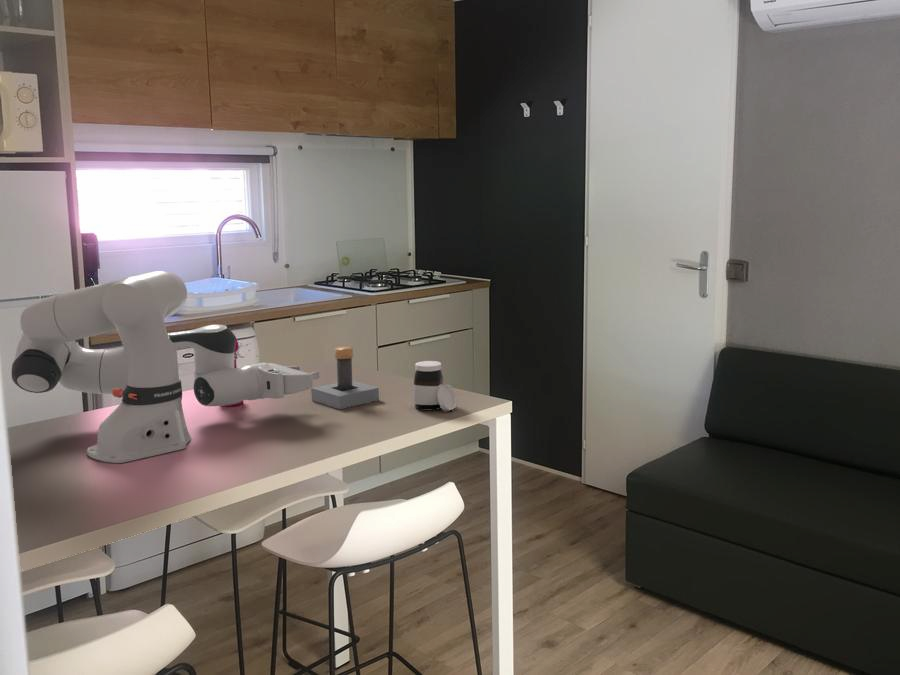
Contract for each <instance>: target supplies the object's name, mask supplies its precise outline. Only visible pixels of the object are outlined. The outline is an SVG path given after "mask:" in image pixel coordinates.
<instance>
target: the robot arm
mask: <svg viewBox="0 0 900 675" xmlns="http://www.w3.org/2000/svg"><path fill="white" fill-rule="evenodd" d="M187 298H188V290H187V285H186V283H185V282H184V281H183V279H182V278H181V277H180V276H179V275H177V274H175V273H174V272H173V273H172V272H170V271H169V272H168V271H162V270H154V271H149V272H145V273H141V274H140V273H139V274H135V275H131V276H126V277H123V278H121V279H119V278H118V279H116V280H112V281H108V282H103V283H98V284H95V285H90V286H85V287H82V288H77V289H73V290H70V291H66V292H61V293H58V294H53V295H51V296H48V297H47V296H46V298H43V299H39V300H38V301H36V302H33V303H31V304H29V305H28V306H26V307H25V308H24V309H23V311H22V312H21V316H20V321H19V322H20V329H21V331H22V336H21V337H20V340H19V341H18V344H17V348H16V351H15V356H14V361H13V362H12V364H11V380H12V382H13V383H14V384H15V385H16V386H17V387H19V388H20V389H22V390H24V391H26V392H29V393H34V394H41V393H42V394H43V393H46V392H50V391H52V390H53V389H54V388H55V387H56V386H57V385H58V383H60V385H61V386H62V387H63V388H64V389H67V390H71V391H76V392H81V393H88V394H95V395H97V394H99V395H111V396H113V397H115V398H118V399H119V398H121V403H120V404H118V406H117V407H116V408H115V409H114V410H113V411H112V412H111V413H110V414H109V415H108V416H107V417H106V418H105V419H104V420H103V421H102V422H101V423H100V424H99V426H98V430H97V437H96V439H97V440H96V444H94V445H92V446H89V447H87V449H86V455H87V456H89V457H90V458H92V459H94V460H97V461H101V462H104V463H113V464H121V463H122V464H123V463H128V462H132V461H136V460H141V459H146V458H151V457H154V456H158V455H163V454H167V453H171V452H175V451H180V450H181V451H182V450H184V449H186V448H187V444H188V443H189V442H190V441H191V440H192V437H191V434H190V432H189V430H188V426H187V423H186V419H185V418H186V417H185V415H184V410H183V405H182V404H183V403H182V399H183V388H182V380H181V379H180V374H179V373H180V372H179V363H178V349H179V350H180V349H181V350H182V349H189V348H190V349H193V351H194V352H193V354H194V356H193V357H194V359H193V360H194V361H193V362H194V363H193V364H194V368H193V393H194V396H195V398H196V400H197V401H198V402H199V404H200V405H202V406H204V407H221V406H222V407H225V406H224V405H231V404H236V403H239V402H241V401H243V402H244V401H255V400H260V399H261V400H264V399H267V398H268V399H274V400H275V399H276V400H277V399H283V398H285V395H293V394H298V393H300V392H304V391H308V390H310V389H311V388H313V381H314V380H318V379H320V371H315V370H313V371H310V372H305V371H302V370H300V366H298V365H292V366H291V365H281V364H278V363H274V362H266V361H264V362H258V363H253V364H252V363H251V364H245V365H243V366H241V367H237V368H234V352H235V346H236V340H237V337H236V335H235V333H234V332H233V331H232V330H231V329H230V328H229V327H228V326H226V325H224V324H209V325H204V326H199V327H194V328H187V329H178V330H171V331H168V330H167V327H166V324H165V319H168V318H170V317H172V316H173V315H175V314H176V313H177V312H178V311H180V310H181V308H183V306H184V304H185V303H186V301H187ZM114 331H117V333H118V336H119V338H120V341H121V344H122V346H121V347H117V348H112V349H106V348H99V349H97V348H94V349H93V348H87V347H83V346H81V345H80V344H79V343H78V342H80V341H81V339H86V338H91V337H96V336H99V335H103V334H107V333H111V332H112V333H113V332H114Z"/></svg>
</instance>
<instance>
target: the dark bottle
mask: <svg viewBox="0 0 900 675" xmlns="http://www.w3.org/2000/svg"><path fill="white" fill-rule="evenodd" d="M353 357H354V347H351V346H338V347H334V358H335V359H336V379H337V381H336V383H338V390H339V391H347V390H351V389H353V387H352V381H353V364H352V363H353V362H352V361H353Z"/></svg>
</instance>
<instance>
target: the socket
mask: <svg viewBox="0 0 900 675" xmlns="http://www.w3.org/2000/svg"><path fill="white" fill-rule="evenodd" d="M352 387H353V389H351V390H347V391H339V390H338V383H337V382H335V383H328V384H324V385H323V384H322V385H319V386H315V387H314V386H313V387H311V388H310V389H311V390H310V391H311V393H310V394H311V401H312V402H316V403H319V404H322V405H325V406H328V407H331V408H335V409H338V410H342V409H347V407H348V408H351V406H352V407H356V406H360V405H359V404H361V405H365V404H369V403H373V402H372V401H374V402H377V401H376V400H378V401H379V400H380V391H379V387H377V386H373V385H370V384H366V383H362V382H359V381H356V380H352ZM368 402H369V403H368ZM364 403H365V404H364Z"/></svg>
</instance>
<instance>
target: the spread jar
mask: <svg viewBox="0 0 900 675" xmlns="http://www.w3.org/2000/svg"><path fill="white" fill-rule="evenodd" d="M414 365H415V367H414V368H415V372H414V375H413V403H414V407H415V408H416V409H417V408H419V409H418V410H420V409H436V410H438V409H437V408H440V407H441V408H440V409H441V410H443V411H445V412H451V411H450V410H449V408H452V409H453V408H455V409H456V407H457V405H458V404H457V403H458V398H457V394H456V391H455V389H454V388H453V387H452V385H449V384H444V373H443V371H442V363H441V362H440V361H436V360H435V361H434V360H424V361H419V362H418V361H417V362H416V363H415V364H414Z"/></svg>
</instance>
